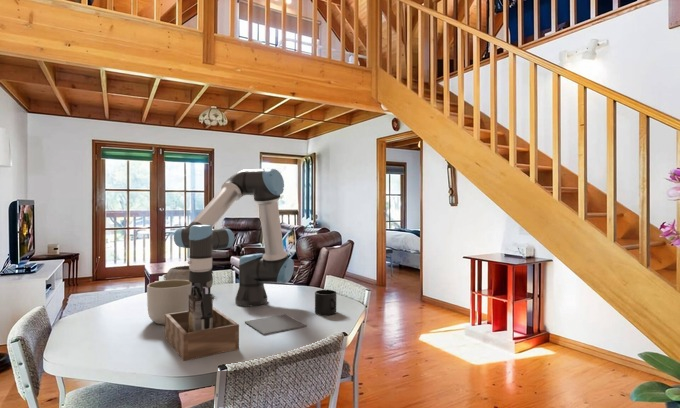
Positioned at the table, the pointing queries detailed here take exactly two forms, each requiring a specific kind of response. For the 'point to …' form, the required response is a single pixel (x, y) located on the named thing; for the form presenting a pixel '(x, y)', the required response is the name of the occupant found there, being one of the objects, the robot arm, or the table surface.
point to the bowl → (182, 274)
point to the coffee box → (196, 313)
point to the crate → (201, 335)
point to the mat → (274, 324)
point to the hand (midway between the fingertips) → (200, 332)
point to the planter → (167, 298)
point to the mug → (325, 302)
